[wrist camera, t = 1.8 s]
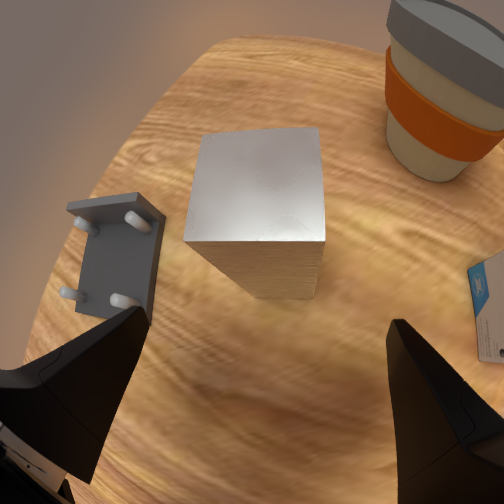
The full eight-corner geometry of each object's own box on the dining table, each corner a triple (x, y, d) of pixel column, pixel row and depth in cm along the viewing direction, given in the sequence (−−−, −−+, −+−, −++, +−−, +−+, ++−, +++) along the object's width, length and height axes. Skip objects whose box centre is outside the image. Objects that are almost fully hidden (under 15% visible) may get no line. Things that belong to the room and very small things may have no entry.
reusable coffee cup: (485, 206, 19) (569, 112, 5) (376, 191, 21) (426, 41, 7) (455, 115, 22) (492, 20, 8) (361, 97, 25) (370, -21, 11)
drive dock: (150, 326, 22) (115, 321, 17) (81, 312, 23) (46, 305, 19) (165, 217, 24) (138, 192, 20) (97, 221, 26) (68, 202, 22)
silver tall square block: (312, 298, 20) (325, 241, 8) (254, 297, 21) (183, 241, 9) (313, 242, 21) (318, 127, 9) (257, 242, 22) (202, 135, 10)
